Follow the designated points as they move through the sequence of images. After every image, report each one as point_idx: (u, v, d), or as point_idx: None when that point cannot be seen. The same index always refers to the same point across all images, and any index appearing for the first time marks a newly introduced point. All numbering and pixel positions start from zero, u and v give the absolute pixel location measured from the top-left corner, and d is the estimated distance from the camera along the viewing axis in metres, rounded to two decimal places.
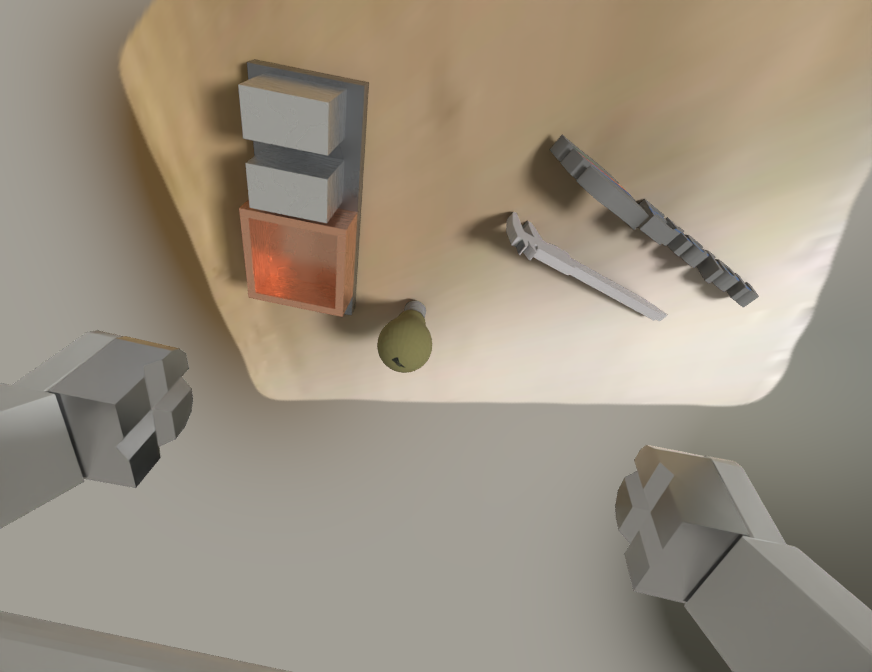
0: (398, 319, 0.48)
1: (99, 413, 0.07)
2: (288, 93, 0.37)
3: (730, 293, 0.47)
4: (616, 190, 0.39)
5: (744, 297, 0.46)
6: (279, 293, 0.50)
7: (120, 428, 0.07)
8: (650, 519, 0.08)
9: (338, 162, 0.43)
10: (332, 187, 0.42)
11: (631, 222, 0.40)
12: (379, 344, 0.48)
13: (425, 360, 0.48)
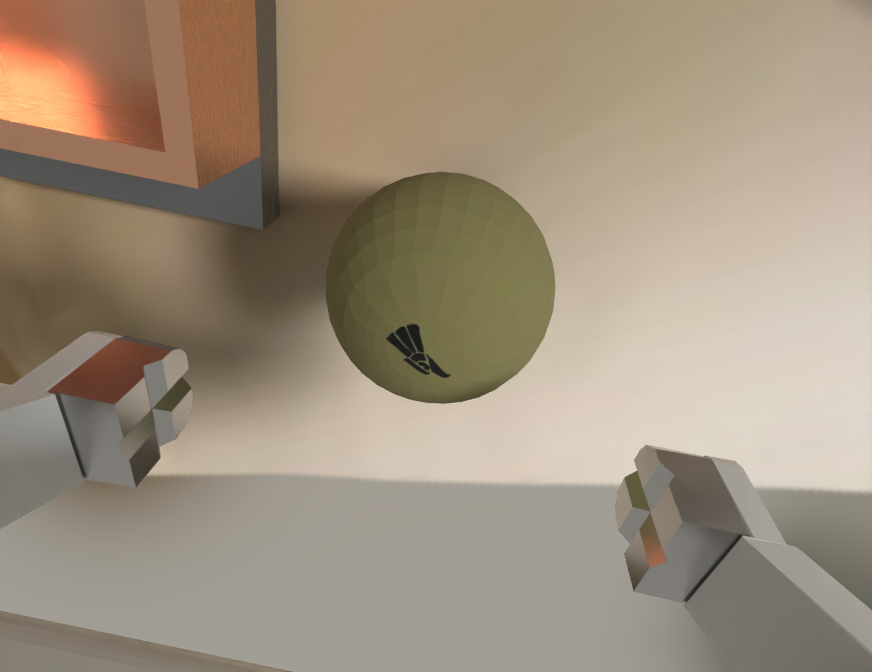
0: None
1: (99, 413, 0.07)
2: None
3: None
4: None
5: None
6: None
7: (120, 428, 0.07)
8: (650, 519, 0.08)
9: None
10: None
11: None
12: (332, 275, 0.11)
13: (534, 349, 0.11)
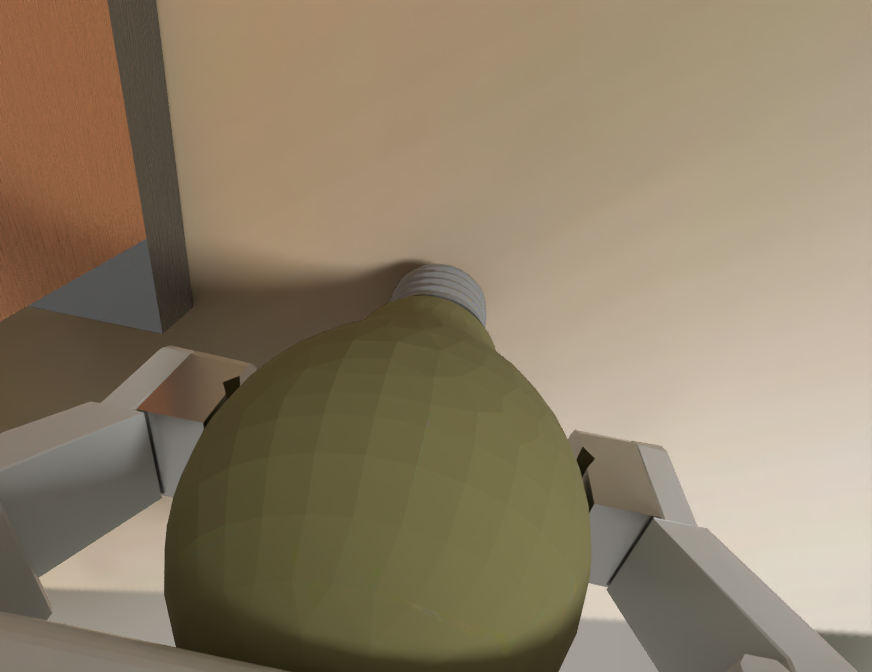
0: (339, 333, 0.06)
1: (185, 431, 0.07)
2: None
3: None
4: None
5: None
6: None
7: None
8: None
9: None
10: None
11: None
12: (167, 544, 0.06)
13: None
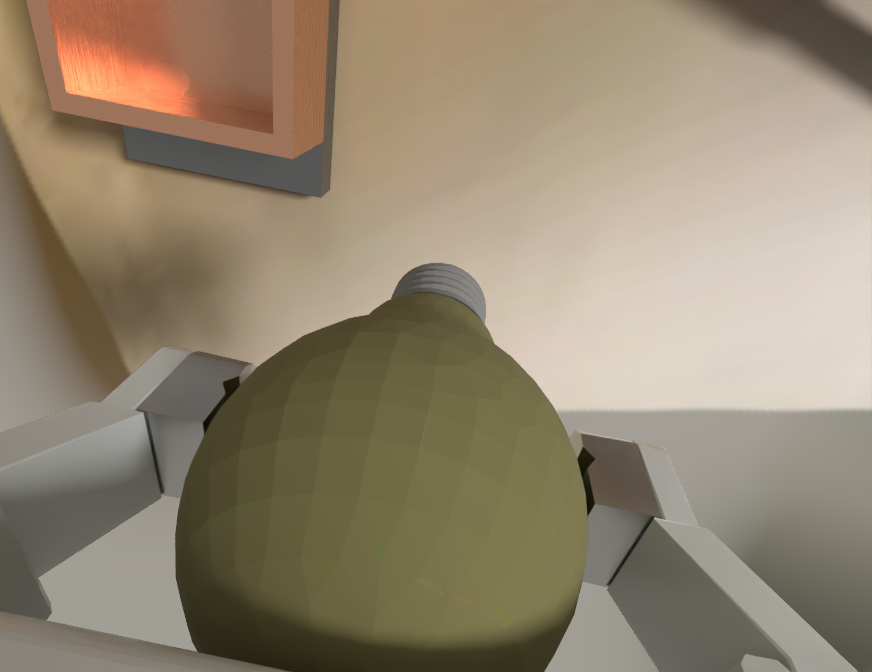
0: (343, 326, 0.07)
1: (185, 431, 0.07)
2: None
3: None
4: None
5: None
6: (133, 101, 0.20)
7: None
8: None
9: None
10: None
11: None
12: (178, 528, 0.06)
13: None
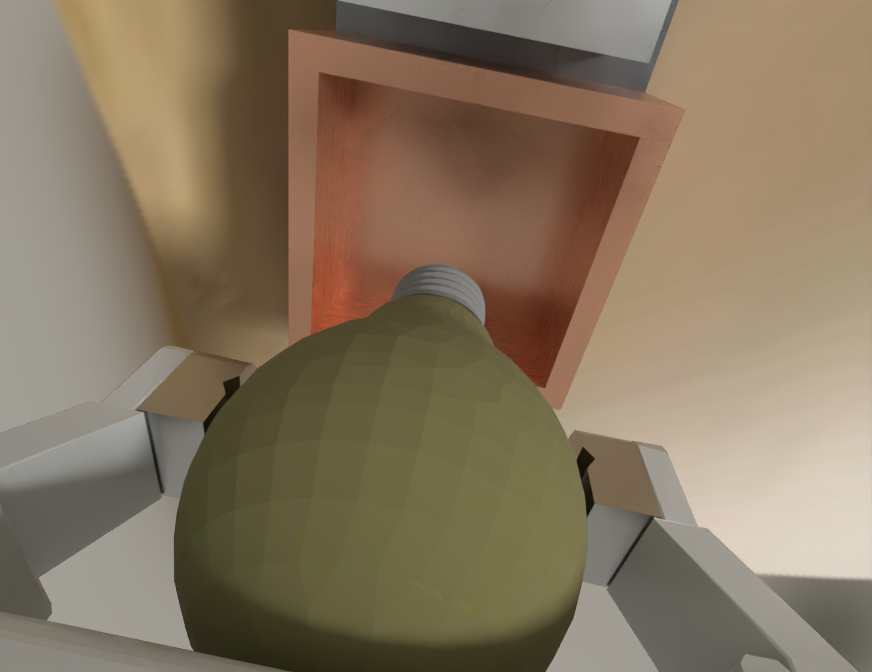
0: (342, 328, 0.07)
1: (185, 431, 0.07)
2: None
3: None
4: None
5: None
6: None
7: None
8: None
9: None
10: None
11: None
12: (176, 532, 0.06)
13: None
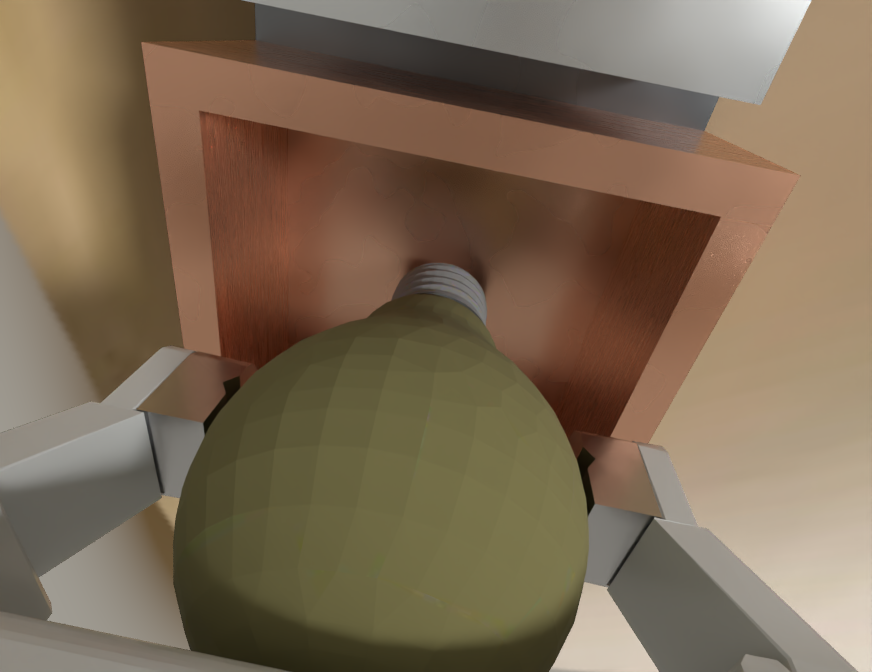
0: (342, 330, 0.06)
1: (185, 431, 0.07)
2: None
3: None
4: None
5: None
6: None
7: None
8: None
9: None
10: None
11: None
12: None
13: None
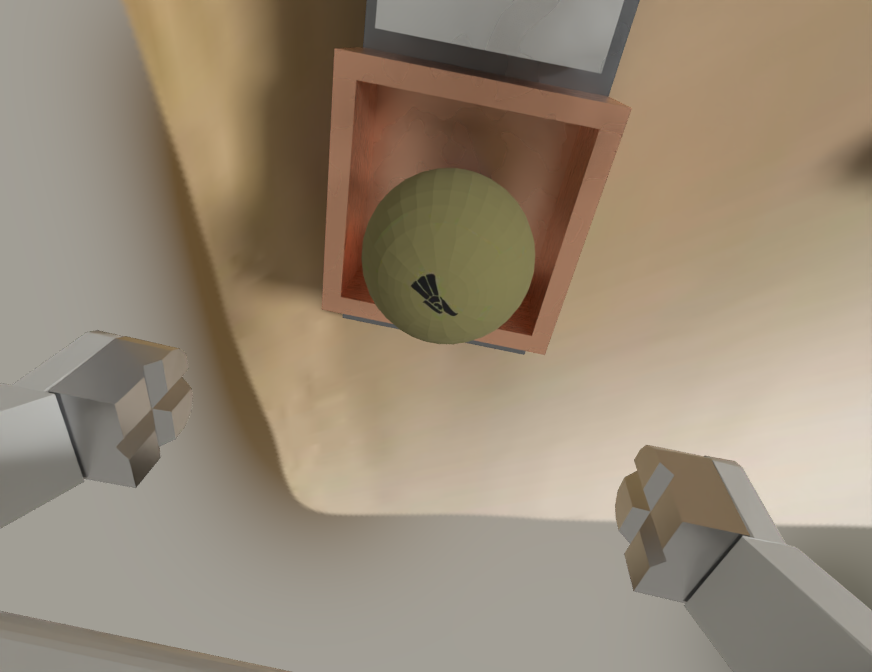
0: None
1: (99, 413, 0.07)
2: None
3: None
4: None
5: None
6: None
7: (120, 428, 0.07)
8: (650, 519, 0.08)
9: None
10: None
11: None
12: (368, 243, 0.14)
13: (519, 299, 0.15)
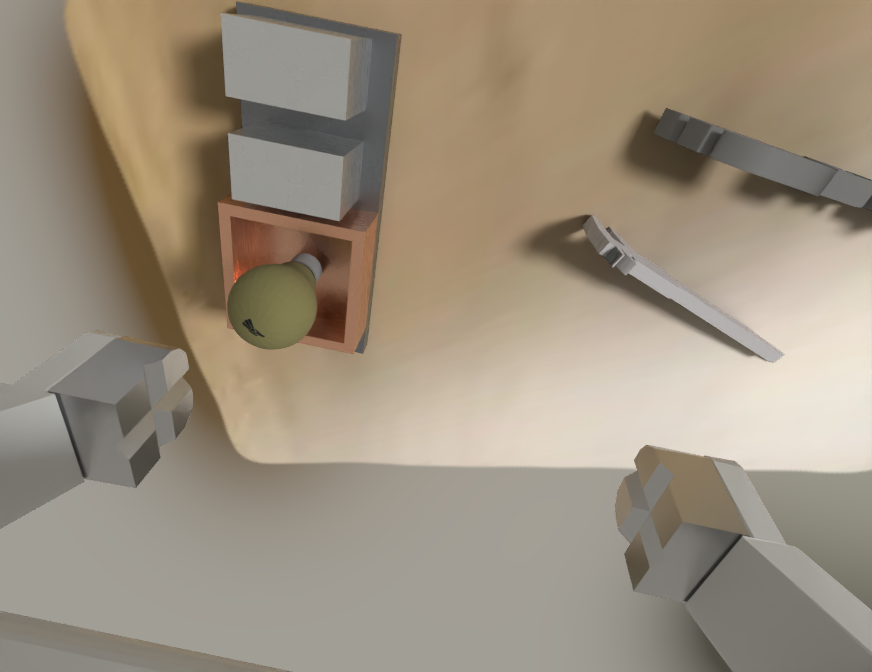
0: (261, 265, 0.31)
1: (99, 413, 0.07)
2: (292, 27, 0.26)
3: None
4: (776, 150, 0.27)
5: None
6: None
7: (120, 428, 0.07)
8: (650, 519, 0.08)
9: (356, 143, 0.32)
10: (348, 171, 0.30)
11: (811, 187, 0.28)
12: (227, 302, 0.31)
13: (301, 328, 0.31)
